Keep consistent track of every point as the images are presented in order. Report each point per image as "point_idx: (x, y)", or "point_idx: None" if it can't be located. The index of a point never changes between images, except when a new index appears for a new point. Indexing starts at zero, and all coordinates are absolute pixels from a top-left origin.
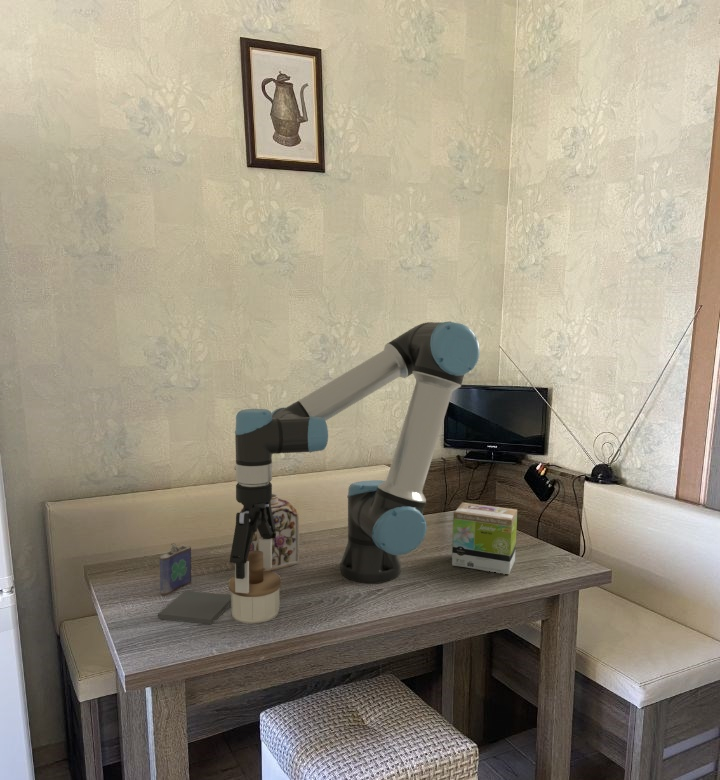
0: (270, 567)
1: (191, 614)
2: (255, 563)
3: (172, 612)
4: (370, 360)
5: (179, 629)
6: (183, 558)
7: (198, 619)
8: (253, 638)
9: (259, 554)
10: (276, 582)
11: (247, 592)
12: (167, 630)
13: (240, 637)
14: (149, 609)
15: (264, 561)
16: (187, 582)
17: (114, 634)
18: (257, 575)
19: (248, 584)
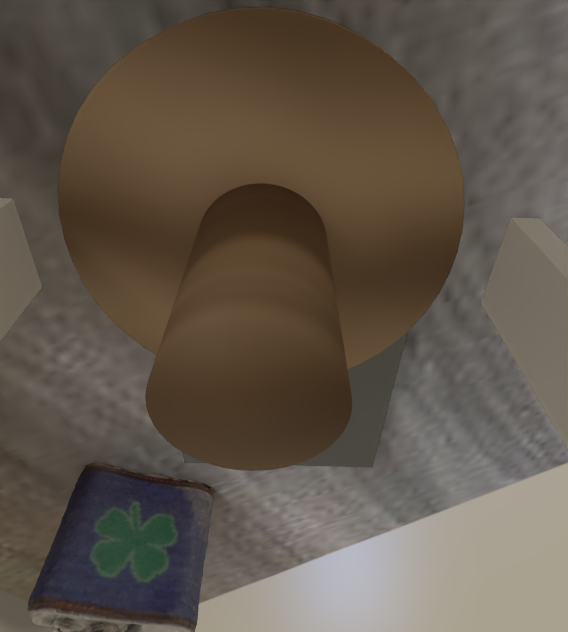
0: (9, 204)
1: (369, 390)
2: (338, 323)
3: (358, 440)
4: None
5: (446, 383)
6: (95, 576)
7: (399, 357)
8: (563, 68)
9: (270, 359)
10: (265, 46)
11: (540, 224)
12: (452, 409)
13: (540, 144)
14: (312, 487)
15: (2, 279)
16: (111, 474)
17: (470, 498)
18: (320, 241)
19: (554, 250)
